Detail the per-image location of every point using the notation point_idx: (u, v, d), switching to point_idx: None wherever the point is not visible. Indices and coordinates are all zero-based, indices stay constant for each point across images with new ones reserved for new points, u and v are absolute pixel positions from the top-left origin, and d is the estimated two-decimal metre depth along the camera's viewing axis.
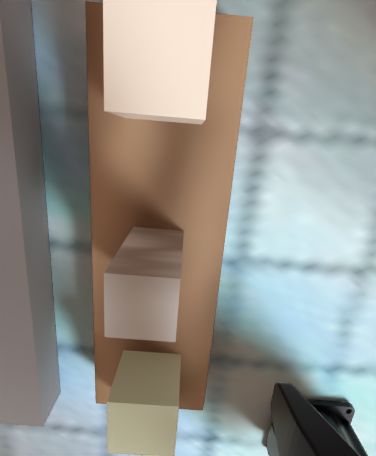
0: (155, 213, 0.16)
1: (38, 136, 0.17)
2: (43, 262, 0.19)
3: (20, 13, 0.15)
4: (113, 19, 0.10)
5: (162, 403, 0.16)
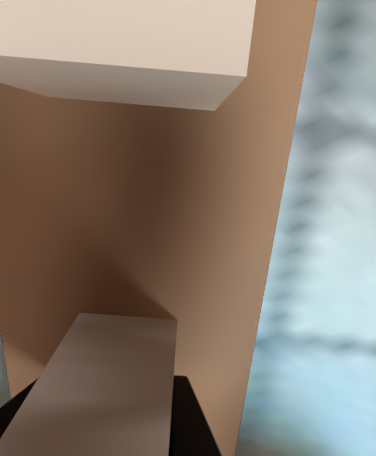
0: (121, 289, 0.08)
1: None
2: None
3: None
4: None
5: None
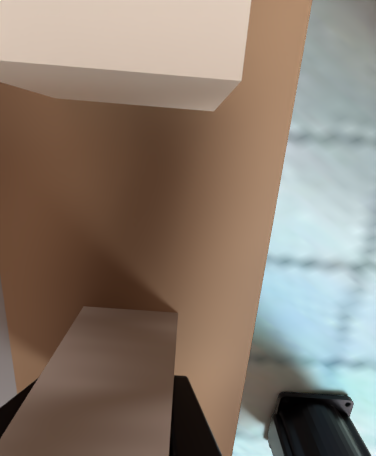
0: (123, 283, 0.09)
1: None
2: None
3: None
4: None
5: None
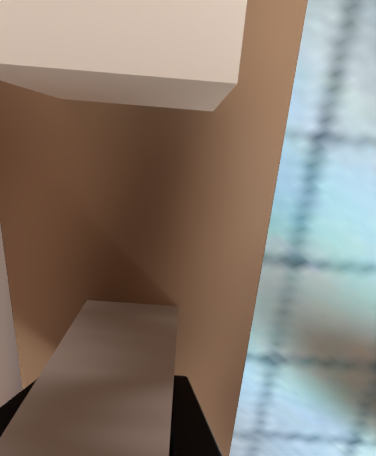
0: (125, 277, 0.09)
1: None
2: None
3: None
4: None
5: None
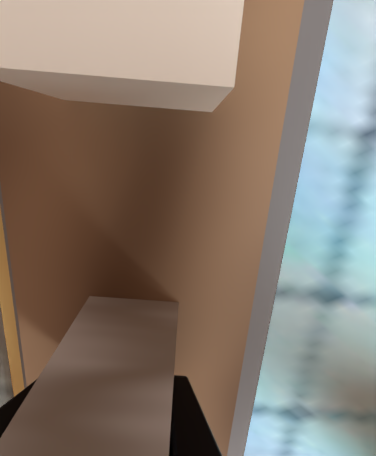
0: (127, 274, 0.09)
1: None
2: None
3: None
4: None
5: None
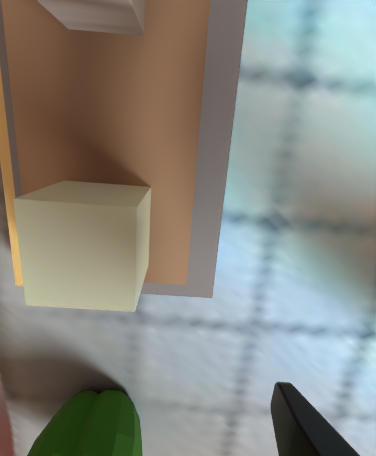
0: None
1: None
2: None
3: None
4: None
5: (110, 204, 0.09)
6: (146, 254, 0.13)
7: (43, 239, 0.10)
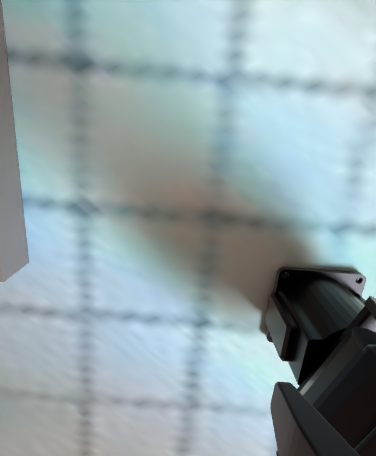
0: None
1: None
2: None
3: None
4: None
5: None
6: None
7: None
